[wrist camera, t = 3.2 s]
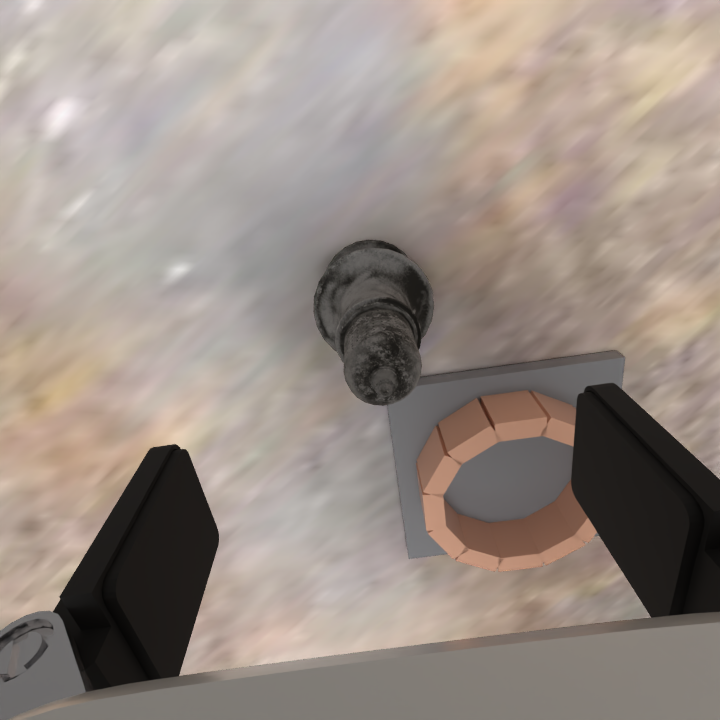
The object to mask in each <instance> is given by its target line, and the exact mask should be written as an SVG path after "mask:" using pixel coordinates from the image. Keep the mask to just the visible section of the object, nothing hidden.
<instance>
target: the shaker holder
mask: <svg viewBox="0 0 720 720" xmlns="http://www.w3.org/2000/svg"><path fill="white" fill-rule="evenodd" d="M624 363H625V357H624V356H623V355H622V354H620V353H619V352H618V351H616V350H614V351H607V352H600V353H593V354H586V355H578V356H571V357H564V358H557V359H549V360H542V361H535V362H528V363H521V364H513V365H506V366H499V367H492V368H485V369H477V370H470V371H463V372H456V373H448V374H441V375H434V376H427V377H420V379H419V381H418V383H417V385H416V387H415V389H414V390H413V391H412V392H411V393H410V394H409V395H408V396H407V397H405V398H404V399H403V400H401V401H398V402H396V403H394V404H389V405H387V407H388V415H389V422H390V429H391V436H392V443H393V450H394V457H395V464H396V472H397V479H398V486H399V493H400V500H401V507H402V514H403V521H404V529H405V536H406V543H407V550H408V557H409V559H412V558H420V557H428V556H436V555H445V554H449V555H450V556H451V557H452V559H454V558H455V559H456V561H459V562H462V563H466V564H469V565H473V566H477V567H480V568H484V569H487V570H491V571H494V572H495V571H496V569H498V572H502V571H510V570H518V569H527V568H535V567H542V561H543V563H544V564H545V565H548V564H550V563H552V562H554V561H556V560H558V559H560V558H562V557H564V556H565V555H567V554H569V553H571V552H573V551H575V550H577V549H579V548H581V547H583V546H585V543H584V541H585V542H588V543H589V542H590V540H591V539H592V538H593V537H594V536H599V534H598V533H597V531H596V530H595V528H594V526H593V525H592V523H591V522H590V520H589V519H588V517H587V515H586V514H585V512H584V511H583V509H582V508H581V506H580V504H579V503H578V501H577V500H576V498H575V496H574V494H573V491H572V487H571V474H572V460H573V446H574V433H575V419H576V405H577V396H578V394H580V393H584V390H585V388H586V387H587V386H591V385H598V384H605V383H615V384H616V385H617V386H619V387H620V388H621V389H622V381H623V372H624Z"/></svg>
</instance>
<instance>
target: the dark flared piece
mask: <svg viewBox="0 0 720 720" xmlns="http://www.w3.org/2000/svg"><path fill="white" fill-rule="evenodd" d="M433 309H434V301H433V292H432V289H431V286H430V284H429V282H428V279H427V277H426V275H425V274H424V273H423V272H422V270H421V269H420V268H419V266H418V265H417V264H416V263H414V262H413V261H412V260H410V259H409V258H408V257H407V256H406V254H405V253H404V252H402V251H401V250H400V249H398V248H397V247H395V246H394V245H391V244H389V243H386V242H383V241H376V240H366V241H360V242H356V243H354V244H352V245H349V246H347V247H345V248H344V249H343V250H342V251H340V252H339V253H338V254H337V255H336V256H335V257H334V258H333V260H332V261H331V263H330V264H329V266H328V268H327V271H326V272H325V274H324V275H323V277H322V278H321V280H320V281H319V284H318V287H317V290H316V293H315V296H314V316H315V320H316V324H317V327H318V329H319V331H320V333H321V335H322V337H323V338H324V340H325V341H326V342H327V343H328V344H329V345H330V346H331V347H332V348H333V349H334V350H335V351H337V353H338V355H339V356H340V358H341V360H342V362H343V363H344V375H345V380H346V382H347V384H348V386H349V388H350V390H351V391H352V392H353V394H354V395H355V396H356V397H357V398H359V399H361V400H362V401H364V402H366V403H369V404H373V405H389V404H394V403H396V402H398V401H401V400H403V399H404V398H405V397H407V396H408V395H409V394H410V393H411V392H412V391H413V390H414V389H415V387H416V385H417V383H418V381H419V379H420V373H421V367H422V364H421V357H420V354H419V351H418V350H419V348H420V343H421V339H422V338H423V337H424V335H425V334H426V332H427V330H428V328H429V325H430V323H431V321H432V316H433Z"/></svg>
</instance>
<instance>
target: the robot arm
mask: <svg viewBox="0 0 720 720" xmlns="http://www.w3.org/2000/svg"><path fill="white" fill-rule="evenodd" d="M571 487H572V491H573V494H574V496H575V498H576V500H577V501H578V503H579V504H580V506H581V508H582V509H583V511H584V512H585V514H586V515H587V517H588V519H589V520H590V522H591V523H592V525H593V526H594V528H595V530H596V531H597V533H598V534H599V536H600V537H601V539H602V541H603V542H604V544H605V545H606V547H607V548H608V550H609V552H610V553H611V555H612V556H613V558H614V559H615V561H616V563H617V564H618V566H619V567H620V569H621V570H622V572H623V573H624V575H625V577H626V578H627V580H628V581H629V583H630V584H631V586H632V588H633V589H634V591H635V592H636V594H637V595H638V597H639V599H640V600H641V602H642V603H643V605H644V606H645V608H646V610H647V611H648V613H649V614H650V616H651V617H652V618H643V619H633V620H623V621H614V622H605V623H596V624H588V625H579V626H571V627H563V628H554V629H546V630H537V631H529V632H520V633H512V634H503V635H495V636H487V637H478V638H470V639H462V640H454V641H446V642H438V643H430V644H422V645H414V646H405V647H398V648H390V649H382V650H374V651H366V652H358V653H350V654H342V655H334V656H326V657H318V658H311V659H303V660H295V661H288V662H280V663H272V664H265V665H257V666H249V667H241V668H234V669H226V670H218V671H211V672H204V673H197V674H190V675H183V676H179V674H180V670H181V667H182V664H183V660H184V657H185V654H186V650H187V647H188V644H189V641H190V637H191V634H192V631H193V627H194V624H195V621H196V617H197V614H198V611H199V607H200V604H201V601H202V597H203V594H204V591H205V587H206V584H207V581H208V577H209V574H210V571H211V568H212V564H213V561H214V558H215V554H216V551H217V548H218V543H219V533H218V529H217V526H216V523H215V521H214V518H213V516H212V513H211V510H210V508H209V505H208V503H207V500H206V497H205V495H204V492H203V490H202V487H201V484H200V482H199V479H198V477H197V474H196V471H195V469H194V466H193V464H192V461H191V458H190V456H189V453H188V451H187V450H185V449H180V447H179V446H178V445H176V444H174V445H167V446H160V447H153V448H151V449H150V450H149V451H148V453H147V454H146V456H145V458H144V459H143V461H142V463H141V464H140V466H139V467H138V469H137V471H136V472H135V474H134V476H133V477H132V479H131V481H130V482H129V484H128V485H127V487H126V489H125V490H124V492H123V494H122V495H121V497H120V499H119V500H118V502H117V504H116V505H115V507H114V508H113V510H112V512H111V513H110V515H109V517H108V518H107V520H106V522H105V523H104V525H103V526H102V528H101V530H100V531H99V533H98V535H97V536H96V538H95V540H94V541H93V543H92V545H91V546H90V548H89V549H88V551H87V553H86V554H85V556H84V558H83V559H82V561H81V563H80V564H79V566H78V567H77V569H76V571H75V572H74V574H73V576H72V577H71V579H70V581H69V582H68V584H67V586H66V587H65V589H64V590H63V592H62V594H61V595H60V601H59V603H58V604H57V606H56V608H55V609H54V611H53V612H51V611H39V612H35V613H32V614H29V615H26V616H24V617H22V618H20V619H18V620H16V621H14V622H12V623H10V624H9V625H8V626H6V627H5V628H4V629H2V630H1V631H0V720H720V479H719V478H717V477H716V476H715V475H714V474H713V473H712V472H711V471H710V470H709V469H708V468H707V467H706V466H704V465H703V464H702V463H701V462H700V461H699V460H698V459H697V458H696V457H695V456H694V455H692V454H691V453H690V452H689V451H688V450H687V449H686V448H685V447H684V446H683V445H682V444H681V443H679V442H678V441H677V440H676V439H675V438H674V437H673V436H672V435H671V434H670V433H669V432H667V431H666V430H665V429H664V428H663V427H662V426H661V425H660V424H659V423H658V422H657V421H656V420H654V419H653V418H652V417H651V416H650V415H649V414H648V413H647V412H646V411H645V410H644V409H642V408H641V407H640V406H639V405H638V404H637V403H636V402H635V401H634V400H633V399H632V398H630V397H629V396H628V395H627V394H626V393H625V392H624V391H623V390H622V389H621V388H620V387H619V386H617V385H616V384H615V383H605V384H598V385H591V386H587V387H586V388H585V390H584V393H580V394H578V396H577V405H576V419H575V433H574V446H573V460H572V474H571Z"/></svg>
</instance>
